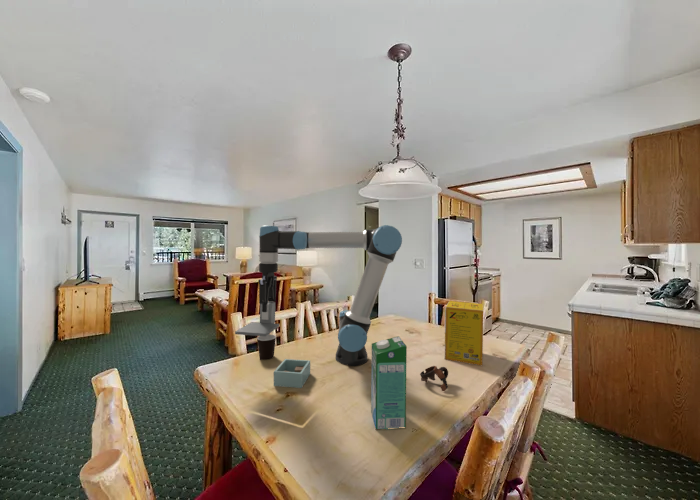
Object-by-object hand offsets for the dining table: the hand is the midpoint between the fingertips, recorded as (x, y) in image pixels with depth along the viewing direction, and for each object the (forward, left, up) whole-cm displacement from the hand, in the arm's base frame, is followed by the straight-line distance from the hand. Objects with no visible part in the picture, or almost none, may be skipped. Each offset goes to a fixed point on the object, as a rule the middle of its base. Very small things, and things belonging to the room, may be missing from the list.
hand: (267, 317), depth 120 cm
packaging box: (-87, -30, -24) cm, 96 cm away
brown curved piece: (-69, +1, -24) cm, 73 cm away
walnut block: (-15, +3, -23) cm, 27 cm away
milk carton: (-50, +26, -23) cm, 61 cm away
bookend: (0, +6, -3) cm, 7 cm away
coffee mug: (+7, -15, -23) cm, 29 cm away
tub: (-13, +6, -23) cm, 27 cm away
